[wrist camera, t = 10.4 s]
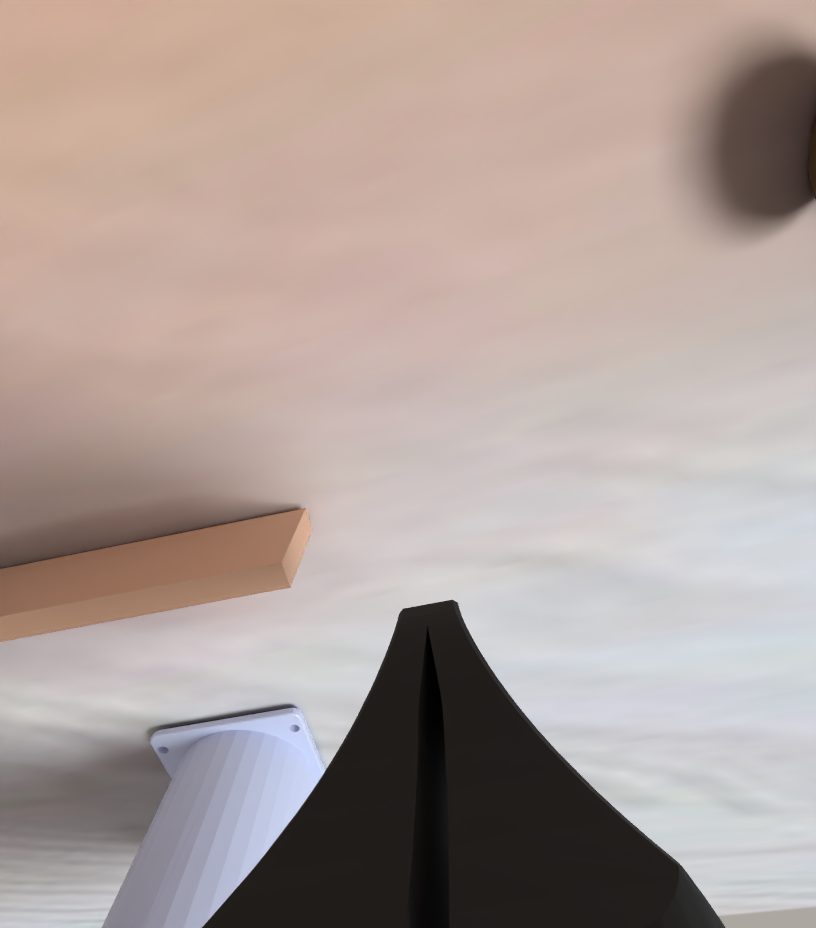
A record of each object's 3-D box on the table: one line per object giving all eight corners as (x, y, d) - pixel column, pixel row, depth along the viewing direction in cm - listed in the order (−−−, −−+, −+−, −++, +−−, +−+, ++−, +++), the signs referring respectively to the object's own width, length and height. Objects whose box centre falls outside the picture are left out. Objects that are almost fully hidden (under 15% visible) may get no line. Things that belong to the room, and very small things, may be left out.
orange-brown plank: (312, 529, 19) (290, 587, 15) (-14, 592, 20) (-110, 662, 16) (305, 508, 19) (281, 562, 15) (-27, 574, 20) (-127, 641, 16)
